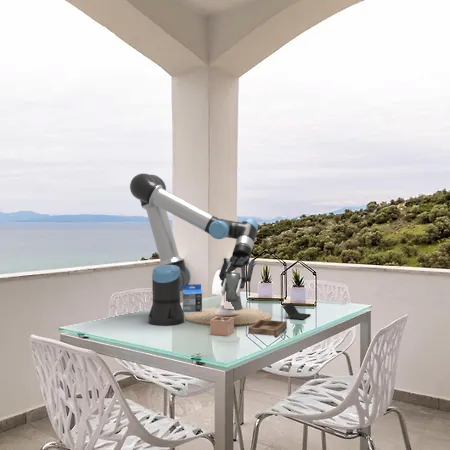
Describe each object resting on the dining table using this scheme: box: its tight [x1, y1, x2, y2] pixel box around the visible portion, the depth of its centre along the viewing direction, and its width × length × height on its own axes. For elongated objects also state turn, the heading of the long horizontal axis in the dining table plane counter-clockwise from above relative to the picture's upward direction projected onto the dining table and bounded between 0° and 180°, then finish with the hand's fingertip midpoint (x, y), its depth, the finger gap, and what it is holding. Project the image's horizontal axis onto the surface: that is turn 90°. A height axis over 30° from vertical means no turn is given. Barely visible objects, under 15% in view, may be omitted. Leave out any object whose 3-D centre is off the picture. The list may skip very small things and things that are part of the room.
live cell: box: [225, 270, 241, 302], centre depth 208 cm, size 6×6×12 cm
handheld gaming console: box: [283, 302, 311, 321], centre depth 229 cm, size 12×7×10 cm
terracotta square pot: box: [209, 315, 235, 337], centre depth 197 cm, size 7×7×6 cm
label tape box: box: [182, 283, 203, 313], centre depth 242 cm, size 9×4×12 cm, turn 97°
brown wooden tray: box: [247, 319, 288, 338], centre depth 202 cm, size 11×16×3 cm
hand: (230, 293), depth 204 cm, fingers closed on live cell, 5 cm apart
